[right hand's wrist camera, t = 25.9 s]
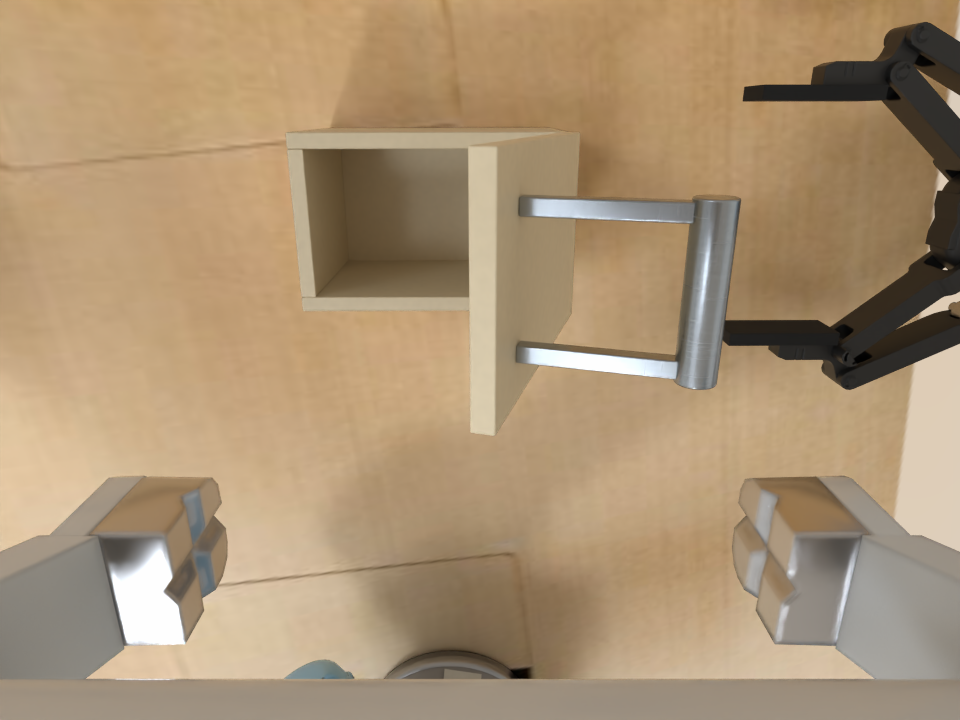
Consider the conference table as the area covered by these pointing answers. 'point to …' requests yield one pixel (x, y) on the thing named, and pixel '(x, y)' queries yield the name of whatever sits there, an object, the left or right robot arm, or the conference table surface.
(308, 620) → the conference table surface
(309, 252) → the chest
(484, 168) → the lid
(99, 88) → the conference table surface
